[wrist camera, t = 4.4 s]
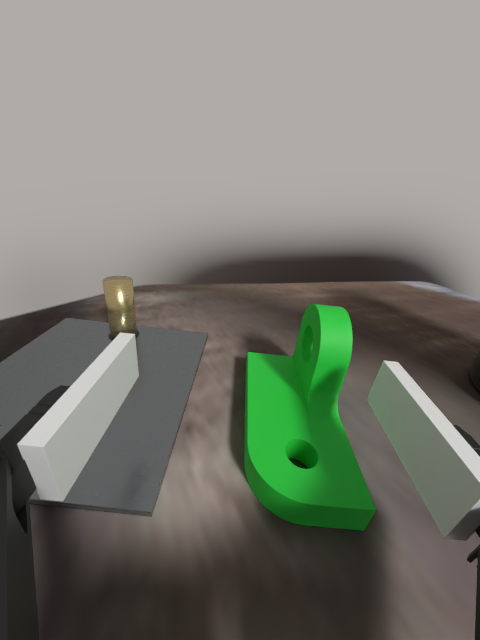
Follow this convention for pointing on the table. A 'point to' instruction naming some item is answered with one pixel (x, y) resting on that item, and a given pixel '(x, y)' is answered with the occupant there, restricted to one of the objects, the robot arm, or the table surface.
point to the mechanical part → (305, 428)
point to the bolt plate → (133, 415)
